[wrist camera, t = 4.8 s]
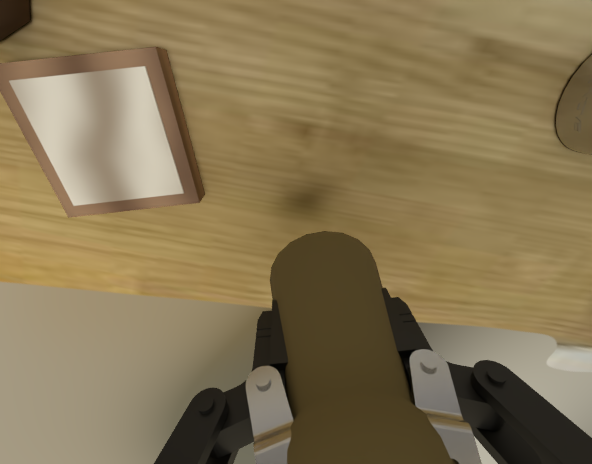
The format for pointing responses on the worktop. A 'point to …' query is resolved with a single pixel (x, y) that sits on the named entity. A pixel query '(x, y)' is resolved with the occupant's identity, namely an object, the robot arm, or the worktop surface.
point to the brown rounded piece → (345, 360)
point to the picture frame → (105, 129)
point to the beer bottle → (13, 16)
